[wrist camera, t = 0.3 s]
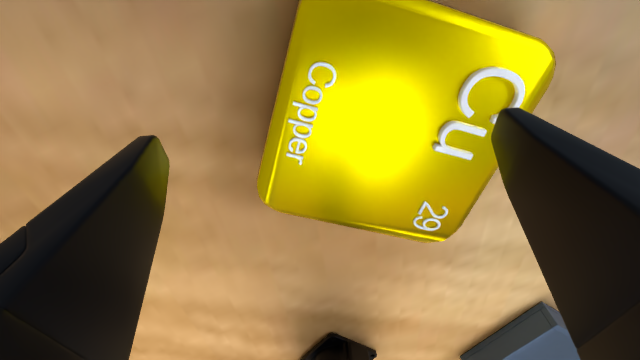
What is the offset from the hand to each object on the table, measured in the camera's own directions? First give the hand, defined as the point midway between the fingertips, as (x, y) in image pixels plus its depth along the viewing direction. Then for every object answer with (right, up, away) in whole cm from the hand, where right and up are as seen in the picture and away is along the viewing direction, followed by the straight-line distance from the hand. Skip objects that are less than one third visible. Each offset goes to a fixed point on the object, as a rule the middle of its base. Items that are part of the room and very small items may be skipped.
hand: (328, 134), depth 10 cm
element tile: (+4, +4, +16) cm, 17 cm away
